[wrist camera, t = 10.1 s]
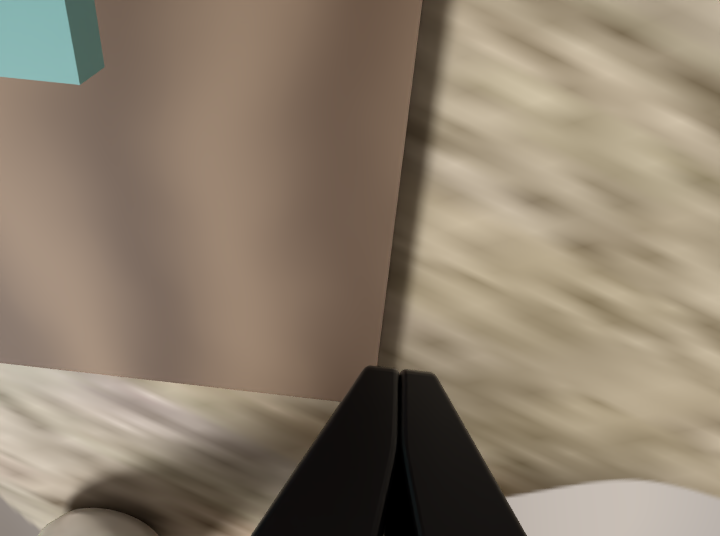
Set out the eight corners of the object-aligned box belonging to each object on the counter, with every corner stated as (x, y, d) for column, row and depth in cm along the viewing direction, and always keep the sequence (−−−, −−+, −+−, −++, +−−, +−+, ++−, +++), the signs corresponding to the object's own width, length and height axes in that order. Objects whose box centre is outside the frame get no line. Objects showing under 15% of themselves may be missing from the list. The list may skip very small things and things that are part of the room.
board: (496, -614, 11) (503, -651, 10) (373, 386, 24) (371, 405, 24) (-352, -677, 11) (-413, -717, 10) (-5, 343, 25) (-20, 360, 24)
